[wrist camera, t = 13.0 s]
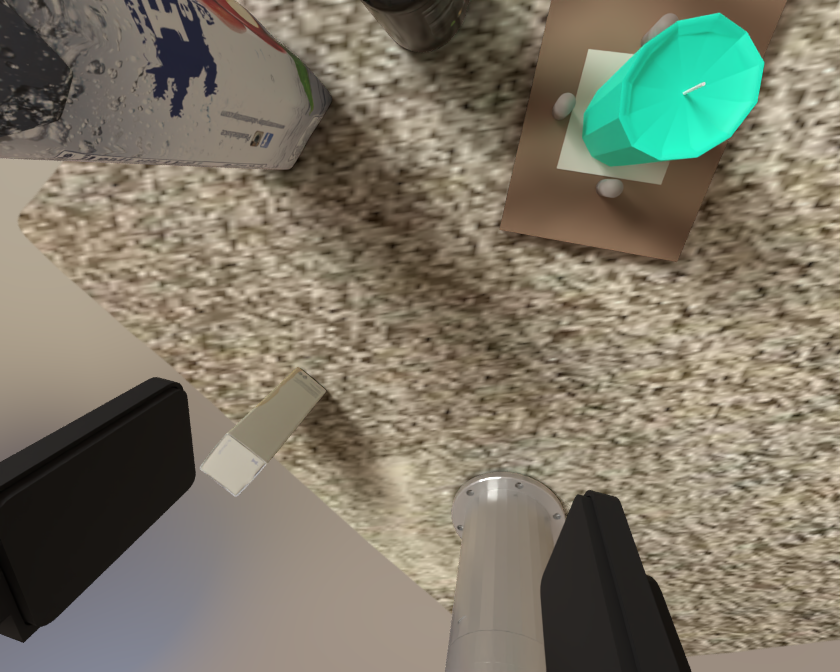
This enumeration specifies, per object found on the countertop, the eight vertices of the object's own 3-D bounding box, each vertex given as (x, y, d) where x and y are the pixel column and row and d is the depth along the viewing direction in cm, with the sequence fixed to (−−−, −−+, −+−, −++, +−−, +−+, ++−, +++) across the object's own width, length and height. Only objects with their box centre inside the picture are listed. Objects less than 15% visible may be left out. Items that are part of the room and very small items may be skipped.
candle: (678, 149, 28) (790, 129, 17) (589, 179, 29) (638, 179, 19) (667, 55, 26) (784, -34, 15) (573, 93, 28) (616, 38, 17)
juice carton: (296, 186, 36) (-170, 201, 11) (205, 103, 35) (-532, -80, 10) (351, 98, 32) (-162, -167, 7) (250, 3, 31) (-729, -667, 6)
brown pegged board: (671, 258, 31) (693, 270, 28) (499, 227, 33) (498, 234, 29) (788, -24, 24) (840, -62, 20) (561, -44, 26) (570, -82, 22)
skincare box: (298, 365, 43) (226, 429, 32) (329, 391, 43) (268, 463, 32) (271, 398, 46) (195, 468, 34) (300, 422, 46) (234, 499, 35)
